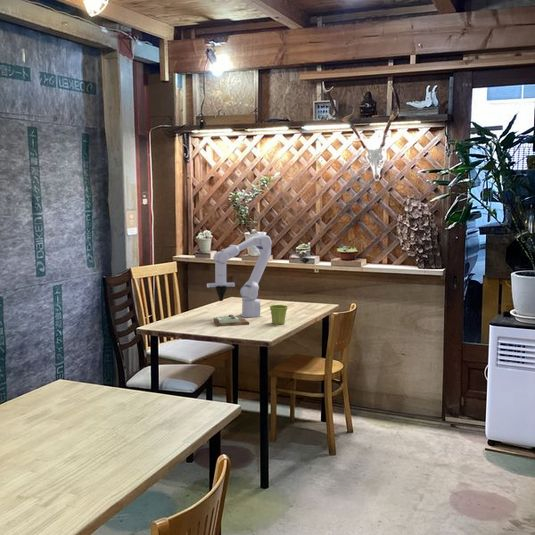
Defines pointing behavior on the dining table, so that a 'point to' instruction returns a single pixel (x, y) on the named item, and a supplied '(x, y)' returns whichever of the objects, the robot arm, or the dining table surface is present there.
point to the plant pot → (278, 313)
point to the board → (241, 322)
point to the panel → (227, 319)
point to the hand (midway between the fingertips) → (220, 300)
